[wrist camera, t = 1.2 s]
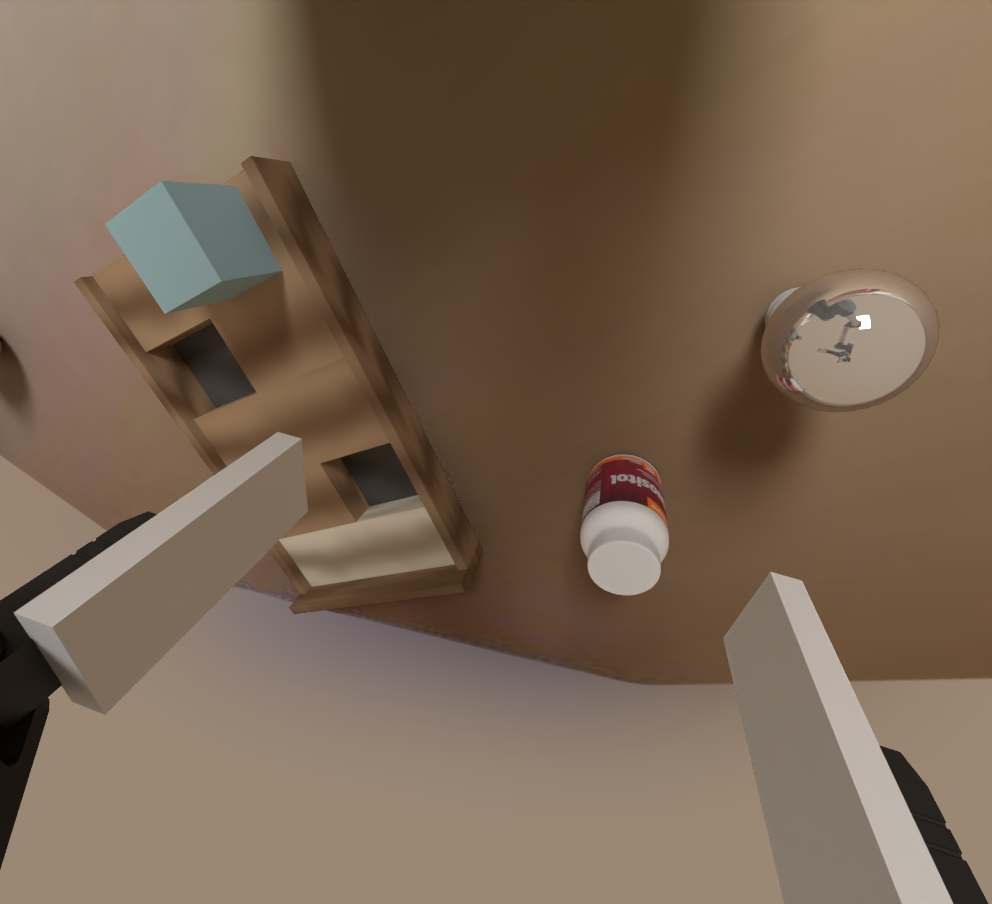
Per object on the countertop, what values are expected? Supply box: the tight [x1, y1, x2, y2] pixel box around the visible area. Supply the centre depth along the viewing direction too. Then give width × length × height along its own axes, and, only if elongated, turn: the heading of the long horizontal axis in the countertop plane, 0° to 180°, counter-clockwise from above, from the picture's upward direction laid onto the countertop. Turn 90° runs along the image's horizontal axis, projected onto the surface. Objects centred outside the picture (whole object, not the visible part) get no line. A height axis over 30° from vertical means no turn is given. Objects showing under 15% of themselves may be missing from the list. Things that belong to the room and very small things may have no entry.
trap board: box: [74, 156, 483, 614], centre depth 41 cm, size 37×22×6 cm, turn 22°
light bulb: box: [761, 268, 940, 412], centre depth 24 cm, size 7×7×12 cm
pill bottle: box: [580, 454, 669, 595], centre depth 34 cm, size 6×6×11 cm
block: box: [105, 181, 283, 314], centre depth 31 cm, size 6×6×6 cm
